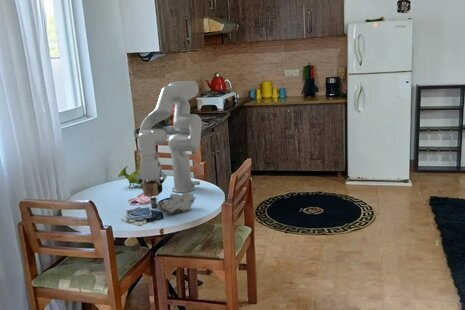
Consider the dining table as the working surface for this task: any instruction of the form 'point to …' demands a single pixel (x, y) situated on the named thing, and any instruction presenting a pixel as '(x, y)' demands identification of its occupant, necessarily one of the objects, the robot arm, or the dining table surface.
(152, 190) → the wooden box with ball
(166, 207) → the rock
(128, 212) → the tray
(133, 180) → the toy
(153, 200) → the grey rounded cylinder
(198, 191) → the dining table surface
